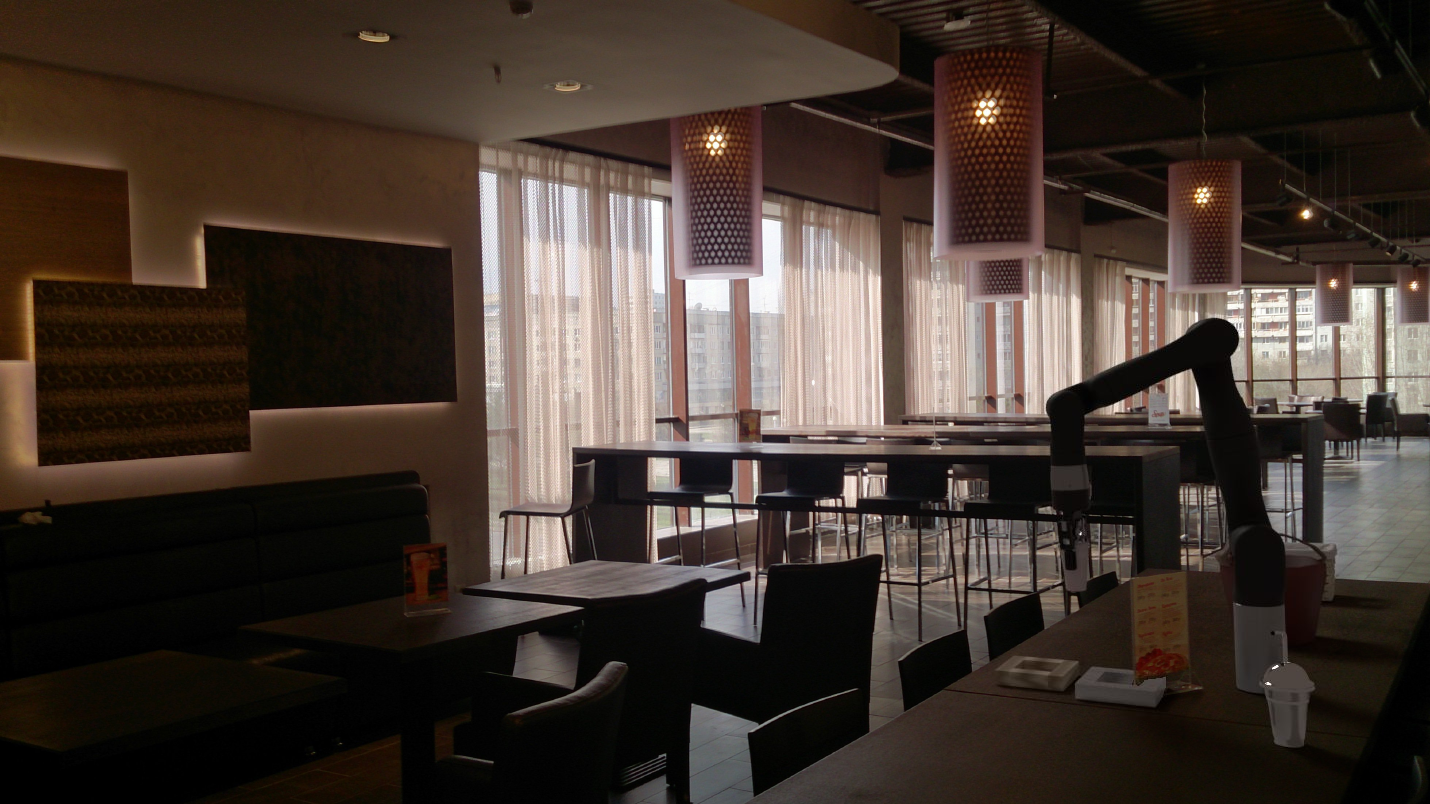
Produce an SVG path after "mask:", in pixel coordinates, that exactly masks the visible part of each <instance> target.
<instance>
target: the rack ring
mask: <svg viewBox="0 0 1430 804" xmlns="http://www.w3.org/2000/svg"><path fill="white" fill-rule="evenodd" d="M1133 680H1134V671H1133V669H1124V668H1123V669H1122V668H1112V667H1104V666H1103V667H1102V666H1101V667H1100V666H1091V667H1090V668H1089V669H1088V670H1087V671H1086V672H1085V673H1084V674H1083V675H1081V677H1080V678H1079V679H1078V680H1077V681H1076V682H1075V683H1074V689H1075V690H1074V696H1075V698H1074V699H1075V700H1083V701H1092V702H1101V703H1109V704H1110V703H1111V704H1119V705H1120V704H1121V705H1131V706H1140V707H1141V706H1142V707H1149V708H1156V707H1157V706H1158V704H1159V703H1160V701H1161V700H1162V698H1163V697H1164V696H1163V694H1164V691H1165V688H1166V677H1163V678H1156V679H1148V680H1144V682H1143V683H1142V684H1141V685H1140V686H1137V685H1132V683H1133ZM1164 695H1165V694H1164Z"/></svg>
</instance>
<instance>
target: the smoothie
mask: <svg viewBox="0 0 1430 804" xmlns="http://www.w3.org/2000/svg"><path fill="white" fill-rule="evenodd" d="M1067 544H1070V543H1069V542H1067ZM1090 545H1091V544H1090V542H1089V541H1087V542H1084V541H1078V542H1077V543H1076V558H1077V569H1076V570H1066V569H1065V556H1064V552H1063V550H1061V549H1060V542H1059V543H1057V549H1058V550H1059V553H1060V559H1061V563H1062V569H1063V573H1064V579H1065V584H1066V588H1067V589H1066V591H1068V592H1084V591H1087V583H1088V582H1087V581H1088V567H1089V566H1088V565H1089V564H1088V563H1089V549H1090V548H1091V546H1090Z"/></svg>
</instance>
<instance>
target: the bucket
mask: <svg viewBox="0 0 1430 804" xmlns="http://www.w3.org/2000/svg"><path fill="white" fill-rule="evenodd" d="M1277 533H1278V534H1279V535H1280V536H1281V537H1284V538H1286V539H1287V538H1288V539H1291V540H1294V541H1296V542H1297V543H1302V544H1305V545H1307V546H1309V547H1311V548H1312V549H1313V550H1314V551H1315V552H1316V553H1317V554H1318V555H1319V556H1320V558H1319V559H1315V558H1312V557H1309V556H1296V555H1286V590H1285V594H1284V607H1285V632H1286V635H1287V646H1300V645H1303V644H1307V643H1312V642H1315V640H1316V635H1317V631H1318V630H1317V629H1318V624H1319V619H1320V615H1321V613H1320V612H1321V608H1322V602H1323V601H1322V598H1323V593H1324V587H1325V582H1326V577H1327V572H1326V563H1325V561H1326V559H1327V556H1326V555H1325V554H1324V553H1323V552H1322V551H1321V550H1320V549H1319V548H1317V547H1316V546H1315V545H1312V544H1310V543H1311V542H1307V541H1305V540H1304V539H1301V538H1297V537H1295V536H1291V535H1289V534H1286V533H1283V532H1282V533H1281V532H1277ZM1214 558H1215V559H1216V561H1217V563H1218V564H1219V574H1220V578H1221V579H1220V580H1221V582H1222V587H1223V592H1224V595H1225V599H1226V602H1227V608H1228V611H1229V616H1230V620H1231V624H1232V628H1233V629H1234V608H1233V602H1234V601H1233V588H1234V583H1235V567H1234V556H1233V554H1232V552H1231V550H1230V547H1229V537H1227V540H1226V543H1225V545H1224V546H1223V549H1221V550H1218V552H1217V553H1215V554H1214Z"/></svg>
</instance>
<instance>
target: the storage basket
mask: <svg viewBox="0 0 1430 804" xmlns="http://www.w3.org/2000/svg"><path fill="white" fill-rule="evenodd" d="M1283 542H1284V541H1283ZM1309 543H1310V544H1312V545H1315V546H1316V547H1317V548H1319V549H1320V550H1321V551H1322V552H1323V553H1324V554H1325V555H1326V556H1327V559H1326V561H1325V563H1326V572H1327V577H1326V582H1325V587H1324V593H1323V598H1322V602H1332V601H1333V599H1334V596H1335V584H1336V582H1335V581H1336V569H1335V568H1336V566H1335V564H1336V556H1337V555H1338V547H1337V545H1336V544H1335V543H1332V542H1331V543H1324V542H1323V543H1322V542H1309ZM1284 546H1285V555H1296V556H1309V557H1312V558H1315V559H1319V558H1320V556H1319V555H1318V554H1317V553H1316V552H1315V551H1314V550H1313V549H1312V548H1311V547H1309V546H1307V545H1305V544H1302V543H1300V542H1297V541H1296V542H1293V541H1290V542H1289V541H1288V542H1284Z"/></svg>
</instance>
